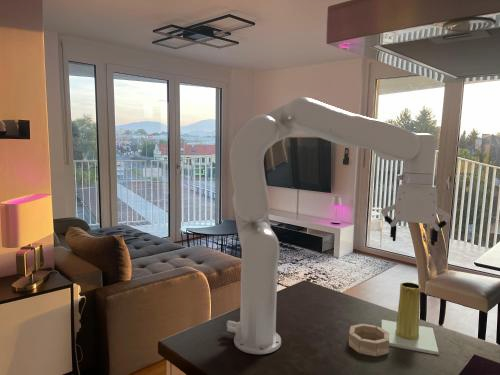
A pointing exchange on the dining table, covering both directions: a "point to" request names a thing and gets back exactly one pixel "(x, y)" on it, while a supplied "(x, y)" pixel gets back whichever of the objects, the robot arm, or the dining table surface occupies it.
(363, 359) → the dining table surface
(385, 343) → the ring
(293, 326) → the dining table surface
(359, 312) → the dining table surface
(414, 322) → the vase
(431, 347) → the mat
